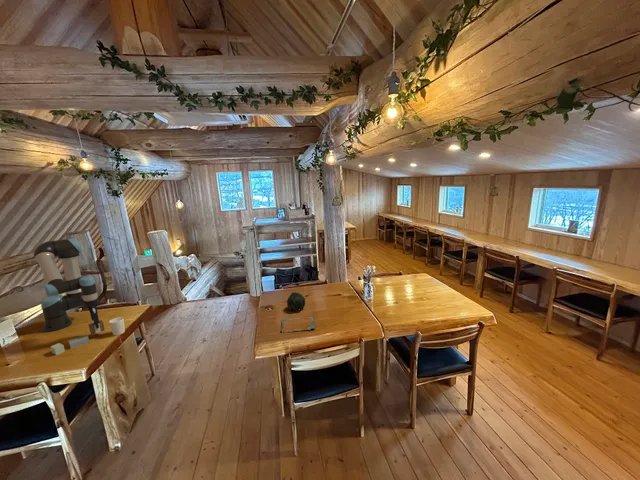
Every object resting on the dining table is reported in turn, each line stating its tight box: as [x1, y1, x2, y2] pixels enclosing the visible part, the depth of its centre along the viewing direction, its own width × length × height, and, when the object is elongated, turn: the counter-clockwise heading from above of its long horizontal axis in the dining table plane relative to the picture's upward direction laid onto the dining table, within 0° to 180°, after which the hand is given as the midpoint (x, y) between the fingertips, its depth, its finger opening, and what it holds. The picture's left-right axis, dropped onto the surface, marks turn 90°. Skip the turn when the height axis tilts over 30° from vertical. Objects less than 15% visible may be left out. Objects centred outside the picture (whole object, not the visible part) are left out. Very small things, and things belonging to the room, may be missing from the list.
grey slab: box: [68, 334, 90, 350], centre depth 168 cm, size 7×9×4 cm
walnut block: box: [88, 319, 106, 335], centre depth 176 cm, size 6×7×6 cm
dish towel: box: [280, 316, 316, 332], centre depth 181 cm, size 17×23×2 cm
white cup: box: [108, 316, 126, 336], centre depth 179 cm, size 8×8×10 cm
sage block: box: [50, 342, 66, 356], centre depth 159 cm, size 6×4×4 cm, turn 64°
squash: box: [286, 292, 306, 311], centre depth 206 cm, size 14×15×15 cm
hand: (97, 330), depth 176 cm, fingers closed on walnut block, 5 cm apart
